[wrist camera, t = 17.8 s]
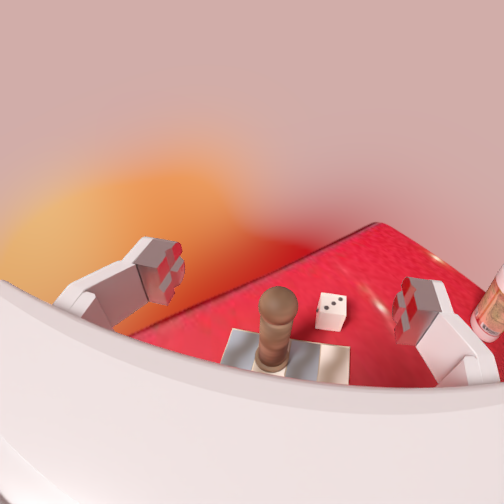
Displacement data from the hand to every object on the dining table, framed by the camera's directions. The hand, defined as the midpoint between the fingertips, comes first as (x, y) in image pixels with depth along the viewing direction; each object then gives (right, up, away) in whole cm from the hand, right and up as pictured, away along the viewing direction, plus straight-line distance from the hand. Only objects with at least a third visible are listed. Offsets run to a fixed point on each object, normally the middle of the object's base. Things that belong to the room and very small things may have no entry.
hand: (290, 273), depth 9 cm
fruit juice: (+50, -16, +33) cm, 62 cm away
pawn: (+2, -16, +31) cm, 35 cm away
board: (+4, -17, +31) cm, 35 cm away
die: (+12, -11, +38) cm, 41 cm away
